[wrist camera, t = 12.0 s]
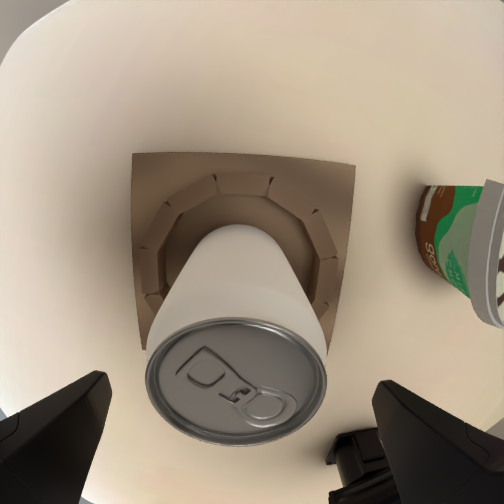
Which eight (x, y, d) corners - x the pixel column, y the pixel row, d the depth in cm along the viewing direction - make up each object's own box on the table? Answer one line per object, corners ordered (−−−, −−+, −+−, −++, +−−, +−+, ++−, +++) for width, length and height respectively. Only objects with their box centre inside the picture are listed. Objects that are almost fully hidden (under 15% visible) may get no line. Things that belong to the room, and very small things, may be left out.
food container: (375, 235, 20) (460, 281, 10) (415, 173, 19) (511, 182, 9) (450, 308, 22) (514, 359, 13) (482, 257, 21) (553, 293, 11)
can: (241, 328, 20) (244, 469, 9) (172, 273, 19) (100, 390, 8) (304, 266, 19) (378, 379, 8) (234, 202, 18) (221, 250, 7)
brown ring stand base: (323, 351, 23) (333, 372, 20) (145, 343, 22) (135, 363, 19) (350, 165, 19) (367, 164, 16) (137, 154, 18) (120, 151, 15)
